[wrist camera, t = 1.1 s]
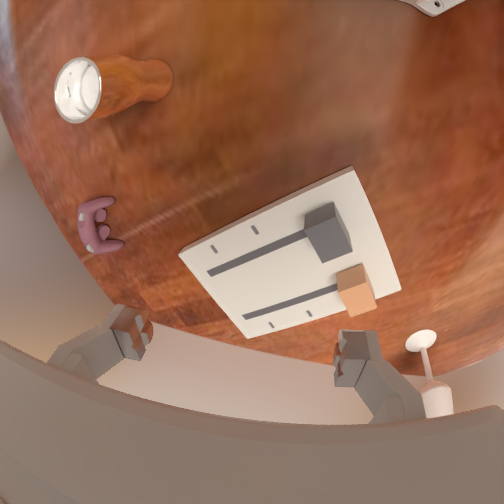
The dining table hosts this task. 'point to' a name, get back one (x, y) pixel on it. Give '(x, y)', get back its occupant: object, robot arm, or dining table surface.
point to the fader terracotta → (356, 290)
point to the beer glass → (108, 85)
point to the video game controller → (87, 228)
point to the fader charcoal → (327, 233)
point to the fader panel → (290, 258)
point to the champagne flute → (431, 378)
